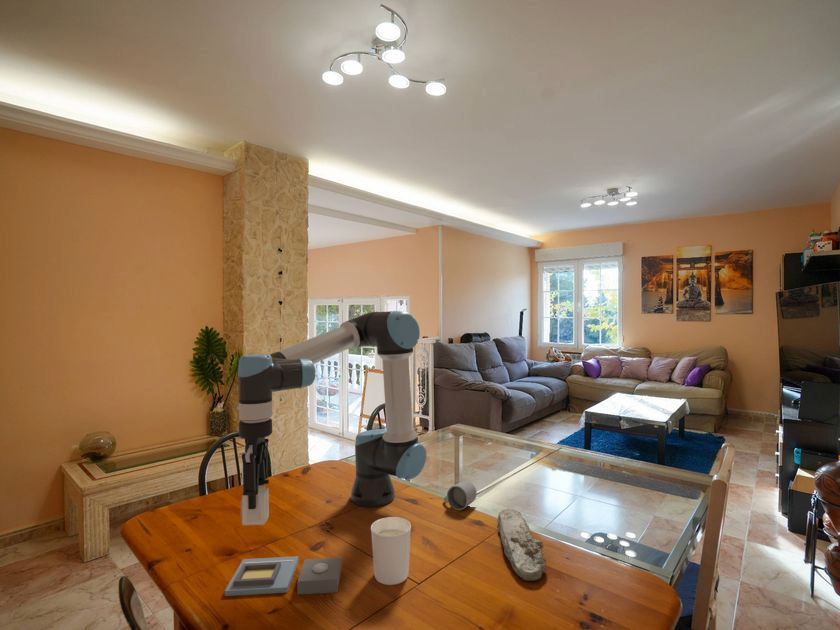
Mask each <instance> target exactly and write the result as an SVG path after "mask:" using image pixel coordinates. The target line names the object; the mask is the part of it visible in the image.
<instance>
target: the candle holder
mask: <svg viewBox="0 0 840 630" xmlns="http://www.w3.org/2000/svg"><path fill="white" fill-rule="evenodd" d="M411 530H412V525H411V522H410V521H409V520H407V519H405V518H402V517H398V516H388V517H383V518H378V519H377V520H375V521H374V522H372V524H371V525H370V532H371V535H370V536H371V549H372V560H373V561H372V562H373V574H374V578H375V580H376V581H377V582H378V583H380V584H382V585H385V586H394V585H395V586H396V585H399V584H401V583H403V582H405V581H406V580H407V578H408V577H409V573H410V572H409V571H410V570H409V569H410V553H411V552H410V550H411V549H410V548H411V532H412V531H411Z"/></svg>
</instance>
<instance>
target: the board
mask: <svg viewBox="0 0 840 630" xmlns="http://www.w3.org/2000/svg"><path fill="white" fill-rule="evenodd" d="M299 561H300V556H299V555H296V556H279V557H278V556H277V557H276V556H275V557H264V558H263V557H260V558H243V559H242V561H241V562H240V564H239V565H238V568H237V569H236V571H235V573H234V574H233V576H232V578H231V579H230V581H229V583H228V584H227V586H226V588H225V590H224V597H233V596H234V597H235V596H249V595H250V596H251V595H265V594H266V595H267V594H283V593H284V594H285V593H288V592H289V589H290V586H291V584H292V581H293V578H294V575H295V572H296V570H297V566H298V565H299Z"/></svg>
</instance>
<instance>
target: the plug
mask: <svg viewBox="0 0 840 630" xmlns="http://www.w3.org/2000/svg"><path fill="white" fill-rule="evenodd" d="M258 493H260V521H259V522H247V495H243V494H242V496H241V497H242V498H240V522H242V524H241V525H242V526H257V525H259V526H261V525H262V526H264V525H265V524H266V522H267V520H268V519H269V518H270V517H269V516H270V511H269V509H270V501H269V499H270V497H269V496H270V491H269V487H265V488H258Z"/></svg>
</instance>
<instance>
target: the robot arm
mask: <svg viewBox="0 0 840 630" xmlns="http://www.w3.org/2000/svg"><path fill="white" fill-rule="evenodd" d="M420 336H421V333H420V326H419V323H418V321H417V319H416V318H415V317H414V316H413V314H411V313H410V312H407V311H400V310H392V311H372V312H366V313H364V314H360V315H358V316H356V317H353V318H351V319H349V320H347V321H343V322H341V324H340V325H339V327H336V328H334V329H332V330H329V331H326V332H325V333H324V332H323V333H322V334H318V335H317V336H314V337H312V338H308V339H307V340H304V341H301V342H298V343H296V344H293V345H291V346H289V347H285V348H284V349H280V350H278V351H275V352H273V353H270V354H267V353H260V354H259V353H257V354H256V353H255V354H245V355H241V357H240V358H239V360H238V369H237V370H238V372H237V378H238V379H237V380H238V405H237V406H236V410H238V419H239V420H240V421H239V422H238V436H239V438H241V439H245V440H246V445H244V446H245V447H244V453H241V454H242V455H241V461H242V484H243V485H242V487H243V488H242V490H243V492H242V495H247V522H259V521H260V493H258V488H266V485H269V483H270V482H269V481H270V480H269V479H268V478H269V475H268V472H269V471H268V469H269V465H268V464H269V462H268V461H269V460H268V459H269V451H268V450H269V438H267V437H269V436H271V435H272V434H273V419H272V417H273V393H274V392H280V391H286V390H295V389H300V390H301V389H302V388H306V387H307V388H308V387H310V386H311V385H312V384H313V383H314V382H315V380H316V376H317V375H316V372H317V371H316V367H315V365H314V364H317V363H319V362H322V361H324V360H326V359H328V358H331V357H333V356H335V355H338V354H339V353H342V352H344V351H347V350H350V351H351V350H352V351H353V350H356V349H358V348H362V347H376V352H377V353H376V354H377V356H378V357H380V359H381V360H382V376H383V390H384V391H383V392H384V393H383V394H384V405H385V406H384V408H385V409H384V410H385V424H386V429H385V428H376V429H370V430H364V431H361V432H358V434H356V437H355V444H354V452H355V453H354V454H355V455H354V456H355V479H354V482H353V483H352V488H351V491H350V500H351V502H352V503H353V504H355V505H357V506H361V507H370V508H371V507H379V506H383V505H388V504H389V503H391V502H392V501H394V499H395V498H396V497H395V495H396V494H395V492H396V490H395V486H394V484H393V481H392V478H391V476H392V477H395V478H398V479H404V480H408V481H411V480H414V479H416V478H417V477H418V476H419V475H420V474H421V472H422V471H423V469H424V467H425V465H426V462H427V449H426V447H425V446H424V445H423V444H422V443H420V442H419V434H418V432H417V431H415V430H414V428H413V427H414V426H413V425H414V423H413V408H412V407H413V406H412V395H411V394H412V391H411V388H412V387H411V375H410V373H411V371H410V357H411V356H412V354H413V353H414V347H416V346H417V344H418V342H419V339H420Z"/></svg>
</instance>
